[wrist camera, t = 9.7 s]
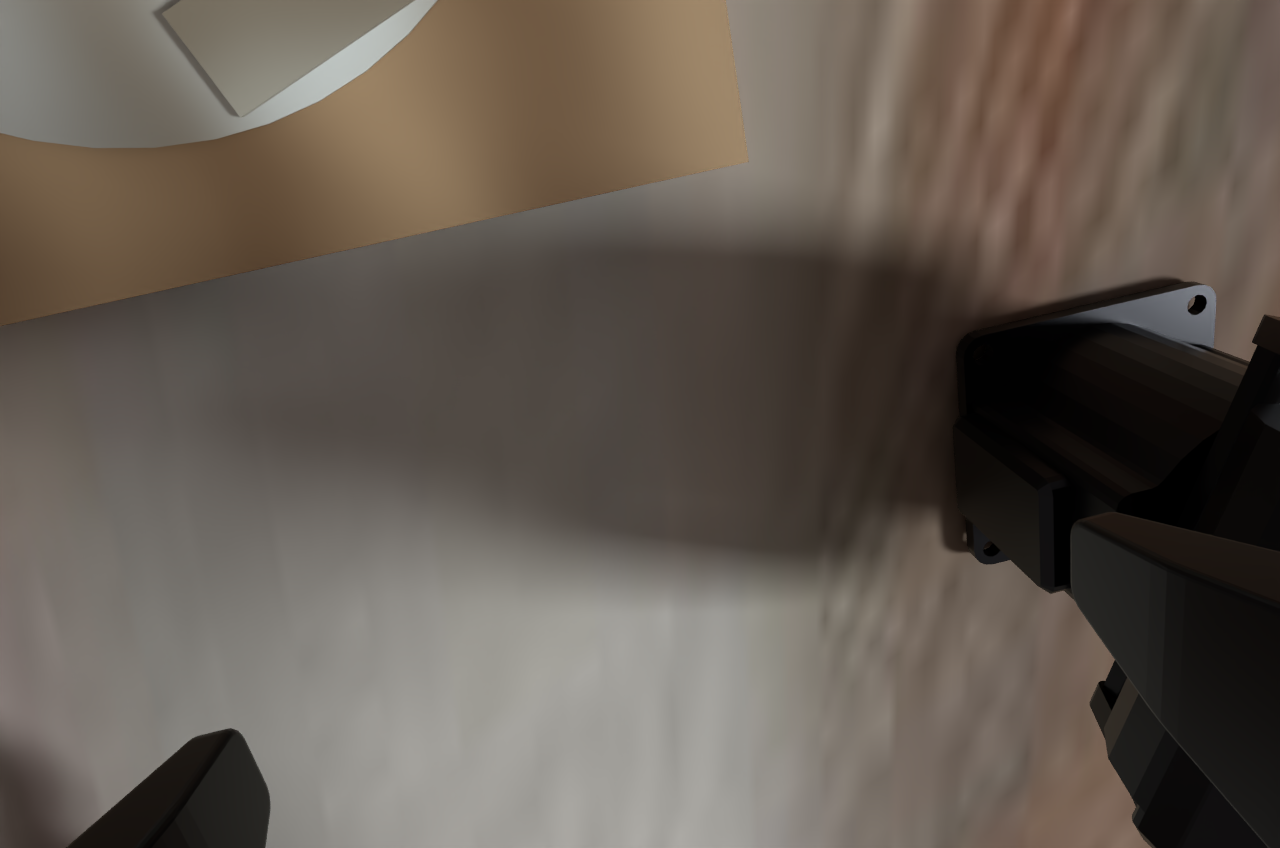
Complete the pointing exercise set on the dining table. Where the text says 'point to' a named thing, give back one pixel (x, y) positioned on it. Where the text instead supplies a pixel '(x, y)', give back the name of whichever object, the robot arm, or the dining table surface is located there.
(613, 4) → the tuner board
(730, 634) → the dining table surface
